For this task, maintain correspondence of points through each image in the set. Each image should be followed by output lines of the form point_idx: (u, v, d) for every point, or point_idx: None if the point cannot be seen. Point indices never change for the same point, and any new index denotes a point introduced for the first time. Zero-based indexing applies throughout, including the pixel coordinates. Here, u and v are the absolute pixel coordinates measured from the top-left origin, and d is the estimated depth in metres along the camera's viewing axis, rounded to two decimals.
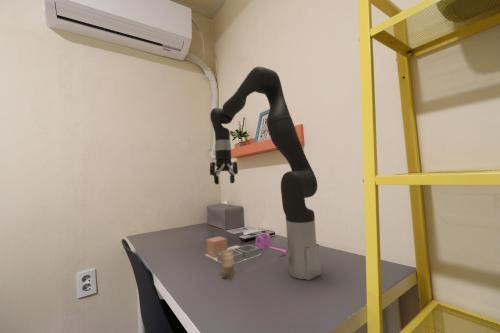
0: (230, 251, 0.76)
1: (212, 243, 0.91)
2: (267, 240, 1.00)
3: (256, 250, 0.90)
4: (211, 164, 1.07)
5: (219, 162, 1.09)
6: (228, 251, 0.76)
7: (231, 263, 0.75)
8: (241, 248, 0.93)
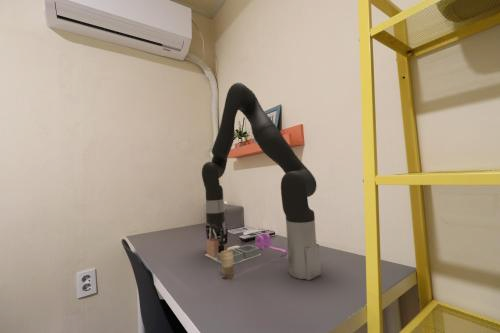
0: (230, 251, 0.76)
1: (212, 243, 0.91)
2: (267, 240, 1.00)
3: (256, 250, 0.90)
4: (225, 232, 0.89)
5: None
6: (228, 251, 0.76)
7: (231, 263, 0.75)
8: (241, 248, 0.93)
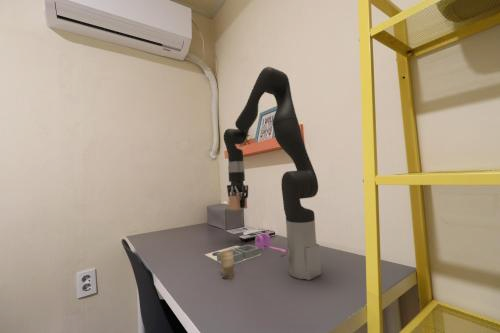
0: (230, 251, 0.76)
1: (234, 198, 1.06)
2: (267, 240, 1.01)
3: (256, 250, 0.90)
4: (246, 187, 1.04)
5: None
6: (228, 251, 0.76)
7: (231, 263, 0.75)
8: (241, 248, 0.93)
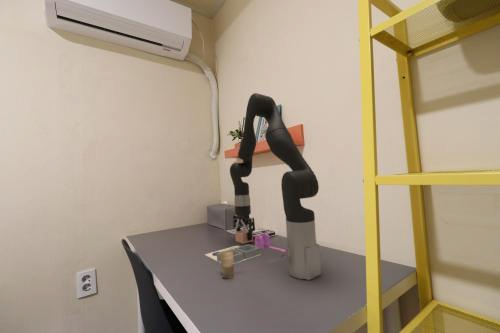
0: (230, 251, 0.76)
1: (241, 234, 1.07)
2: (266, 240, 1.01)
3: (256, 250, 0.90)
4: (252, 220, 1.06)
5: None
6: (228, 251, 0.76)
7: (231, 263, 0.75)
8: (241, 248, 0.93)
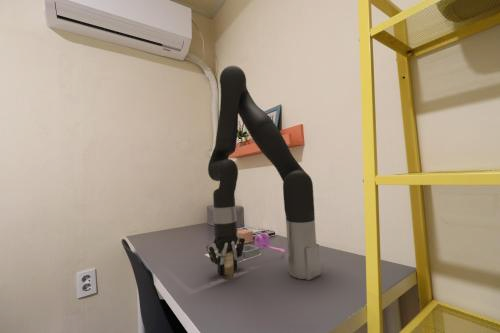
0: (230, 251, 0.76)
1: (241, 234, 1.07)
2: (266, 240, 1.01)
3: (256, 250, 0.90)
4: None
5: None
6: (228, 251, 0.76)
7: (231, 263, 0.75)
8: None
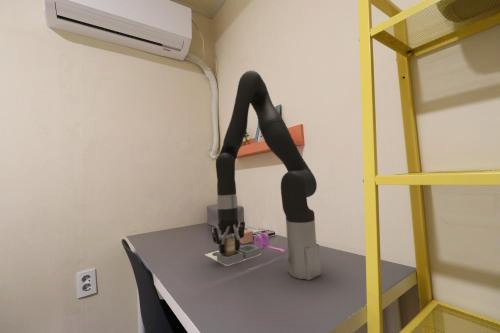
0: (232, 237, 0.87)
1: None
2: (265, 239, 1.01)
3: (256, 250, 0.90)
4: None
5: None
6: (230, 237, 0.87)
7: (233, 248, 0.85)
8: (241, 248, 0.93)
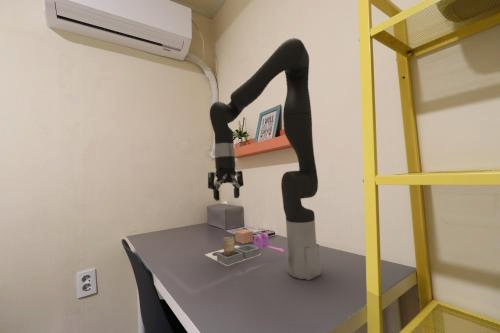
0: (231, 237, 0.87)
1: (241, 234, 1.07)
2: (265, 239, 1.01)
3: (256, 250, 0.90)
4: None
5: None
6: (230, 238, 0.87)
7: (232, 248, 0.85)
8: (241, 248, 0.93)
